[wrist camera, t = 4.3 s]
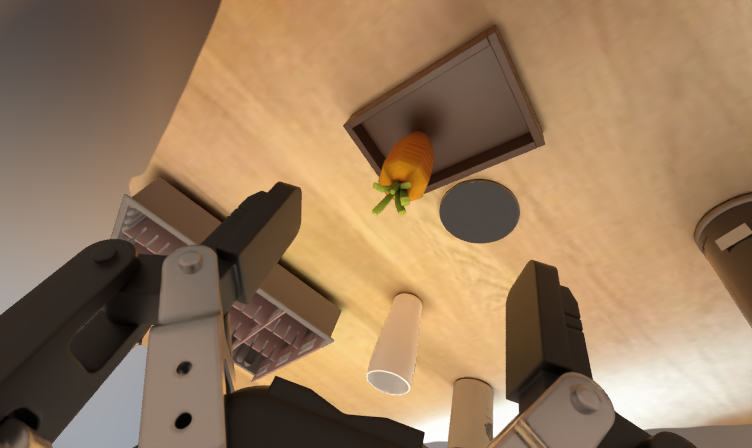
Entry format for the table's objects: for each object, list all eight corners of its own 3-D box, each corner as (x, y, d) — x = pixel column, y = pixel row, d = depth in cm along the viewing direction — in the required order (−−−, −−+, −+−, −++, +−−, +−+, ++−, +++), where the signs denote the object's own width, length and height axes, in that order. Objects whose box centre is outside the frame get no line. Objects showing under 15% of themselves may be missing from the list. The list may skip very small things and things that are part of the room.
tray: (496, 24, 32) (495, 31, 30) (542, 132, 37) (545, 144, 35) (351, 115, 42) (342, 125, 40) (403, 191, 47) (398, 204, 45)
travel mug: (455, 394, 76) (446, 491, 63) (452, 374, 72) (441, 474, 59) (494, 400, 74) (492, 502, 60) (492, 380, 69) (490, 486, 56)
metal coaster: (499, 167, 41) (499, 169, 40) (531, 228, 45) (531, 230, 45) (426, 196, 46) (425, 198, 46) (460, 248, 50) (460, 251, 50)
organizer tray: (162, 166, 56) (111, 201, 49) (349, 305, 66) (330, 351, 59) (128, 251, 76) (88, 285, 69) (276, 348, 86) (255, 387, 79)
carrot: (403, 154, 43) (368, 231, 32) (398, 115, 40) (358, 184, 29) (443, 153, 41) (422, 234, 30) (442, 112, 38) (417, 185, 27)
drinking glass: (413, 284, 58) (393, 367, 47) (434, 310, 60) (419, 394, 49) (382, 293, 62) (356, 372, 50) (403, 317, 64) (382, 397, 53)
